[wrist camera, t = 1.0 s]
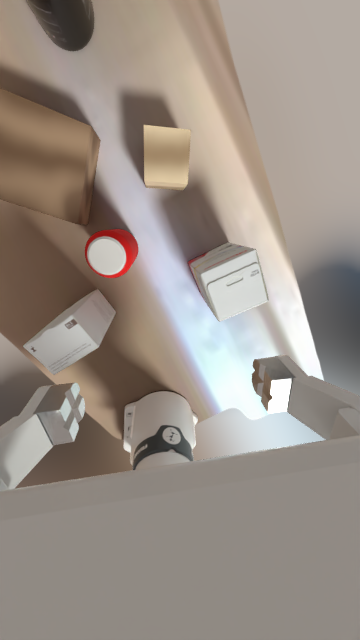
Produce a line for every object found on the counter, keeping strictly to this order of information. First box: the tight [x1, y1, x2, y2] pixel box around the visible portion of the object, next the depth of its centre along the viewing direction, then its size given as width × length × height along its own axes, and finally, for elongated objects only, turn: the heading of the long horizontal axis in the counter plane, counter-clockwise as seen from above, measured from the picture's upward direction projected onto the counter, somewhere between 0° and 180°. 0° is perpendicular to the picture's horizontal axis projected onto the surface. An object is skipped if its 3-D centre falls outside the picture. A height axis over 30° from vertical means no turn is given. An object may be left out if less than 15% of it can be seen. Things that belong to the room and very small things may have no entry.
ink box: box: [188, 242, 269, 322], centre depth 36 cm, size 9×9×12 cm
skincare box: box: [23, 289, 116, 375], centre depth 35 cm, size 8×6×15 cm
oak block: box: [144, 125, 191, 190], centre depth 31 cm, size 6×6×6 cm
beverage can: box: [85, 229, 138, 278], centre depth 33 cm, size 6×6×12 cm
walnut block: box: [0, 88, 100, 225], centre depth 31 cm, size 12×12×5 cm
